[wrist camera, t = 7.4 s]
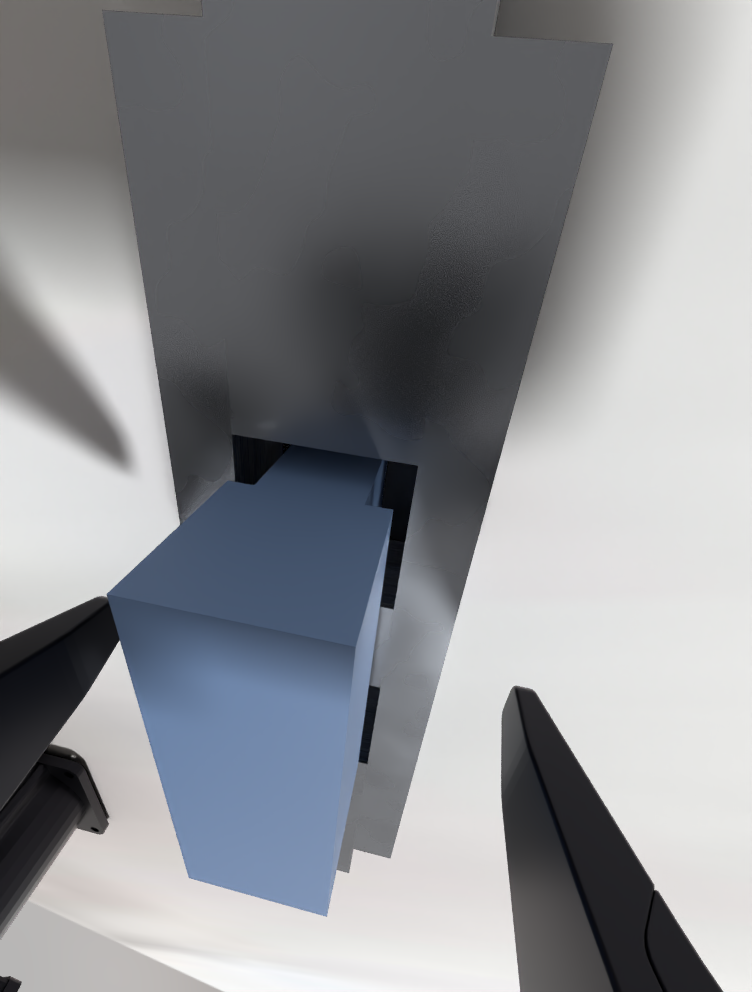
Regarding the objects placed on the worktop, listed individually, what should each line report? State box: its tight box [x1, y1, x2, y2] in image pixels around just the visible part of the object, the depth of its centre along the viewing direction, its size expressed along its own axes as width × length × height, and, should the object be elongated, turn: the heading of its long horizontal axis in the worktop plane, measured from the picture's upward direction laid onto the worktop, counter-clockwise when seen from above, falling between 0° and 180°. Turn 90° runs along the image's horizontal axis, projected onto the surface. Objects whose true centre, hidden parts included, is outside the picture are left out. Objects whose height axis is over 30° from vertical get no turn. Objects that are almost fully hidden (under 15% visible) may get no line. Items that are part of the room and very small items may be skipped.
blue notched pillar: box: [107, 445, 393, 917], centre depth 9 cm, size 8×3×6 cm, turn 174°
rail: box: [102, 0, 613, 873], centre depth 11 cm, size 24×6×2 cm, turn 174°
